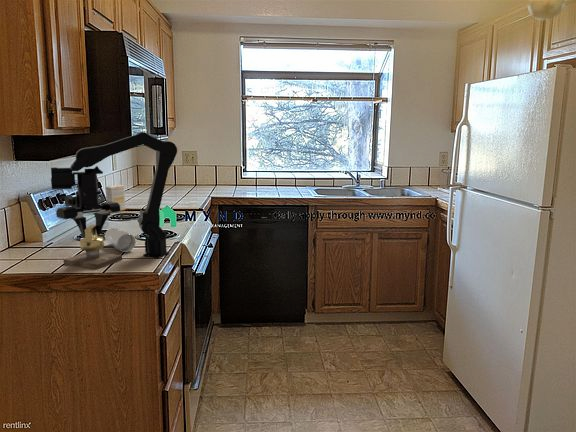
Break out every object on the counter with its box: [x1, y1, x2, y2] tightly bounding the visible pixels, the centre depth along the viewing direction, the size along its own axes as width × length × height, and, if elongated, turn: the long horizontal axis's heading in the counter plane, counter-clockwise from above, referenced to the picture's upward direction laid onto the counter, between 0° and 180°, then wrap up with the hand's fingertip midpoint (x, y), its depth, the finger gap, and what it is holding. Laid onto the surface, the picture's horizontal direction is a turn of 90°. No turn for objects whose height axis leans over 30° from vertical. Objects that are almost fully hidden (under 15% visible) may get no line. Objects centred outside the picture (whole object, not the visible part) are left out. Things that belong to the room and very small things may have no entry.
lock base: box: [62, 249, 123, 270], centre depth 150 cm, size 14×11×4 cm
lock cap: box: [79, 224, 105, 252], centre depth 149 cm, size 8×7×7 cm
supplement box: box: [105, 184, 127, 213], centre depth 240 cm, size 8×5×13 cm, turn 149°
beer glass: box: [104, 227, 137, 253], centre depth 168 cm, size 7×7×15 cm
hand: (91, 236), depth 149 cm, fingers closed on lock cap, 4 cm apart
